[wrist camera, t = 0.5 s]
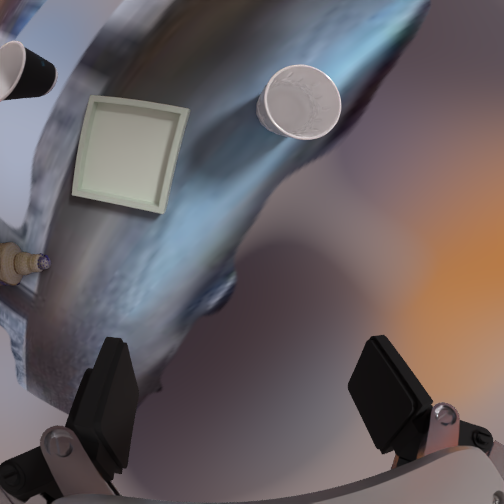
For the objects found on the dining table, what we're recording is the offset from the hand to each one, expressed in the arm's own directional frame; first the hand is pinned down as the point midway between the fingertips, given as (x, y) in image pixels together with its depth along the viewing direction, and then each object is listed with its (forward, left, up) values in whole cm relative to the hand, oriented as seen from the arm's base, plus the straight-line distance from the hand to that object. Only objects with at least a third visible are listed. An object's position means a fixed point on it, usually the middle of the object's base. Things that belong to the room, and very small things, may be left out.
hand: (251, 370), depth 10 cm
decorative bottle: (+18, -37, -30) cm, 51 cm away
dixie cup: (-13, -31, -30) cm, 45 cm away
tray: (-4, -14, -30) cm, 33 cm away
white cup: (-14, +4, -30) cm, 33 cm away
